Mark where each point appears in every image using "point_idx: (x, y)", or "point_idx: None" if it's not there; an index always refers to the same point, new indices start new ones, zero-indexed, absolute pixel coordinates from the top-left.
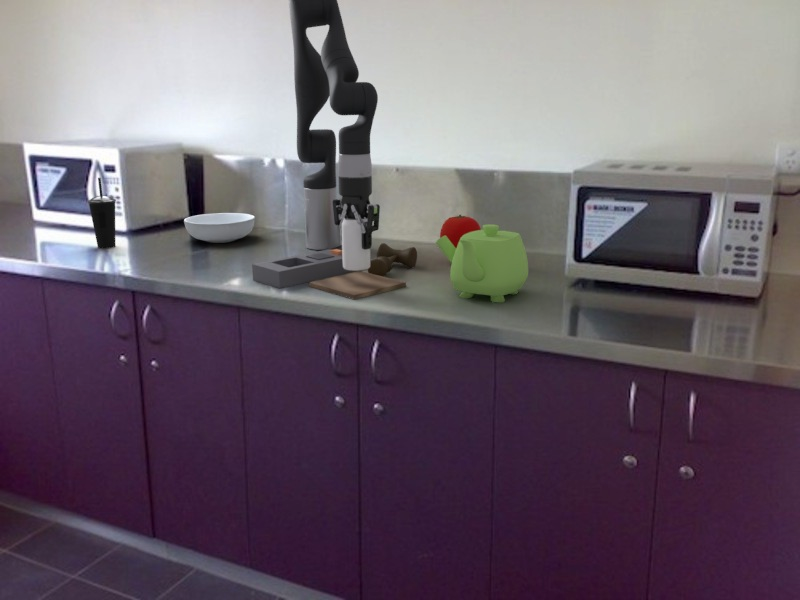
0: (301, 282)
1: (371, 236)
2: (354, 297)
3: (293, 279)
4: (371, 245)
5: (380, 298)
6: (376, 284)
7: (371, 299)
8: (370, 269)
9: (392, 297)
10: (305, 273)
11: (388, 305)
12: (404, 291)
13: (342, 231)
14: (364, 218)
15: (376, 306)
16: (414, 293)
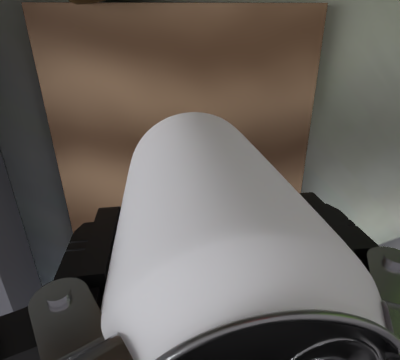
0: (29, 255)
1: (371, 242)
2: None
3: (32, 292)
4: (331, 206)
5: (337, 175)
6: (260, 117)
7: (323, 199)
8: (95, 1)
9: (360, 143)
10: (13, 259)
11: (393, 200)
12: (352, 63)
13: None
14: (341, 344)
15: (372, 225)
16: (395, 55)
